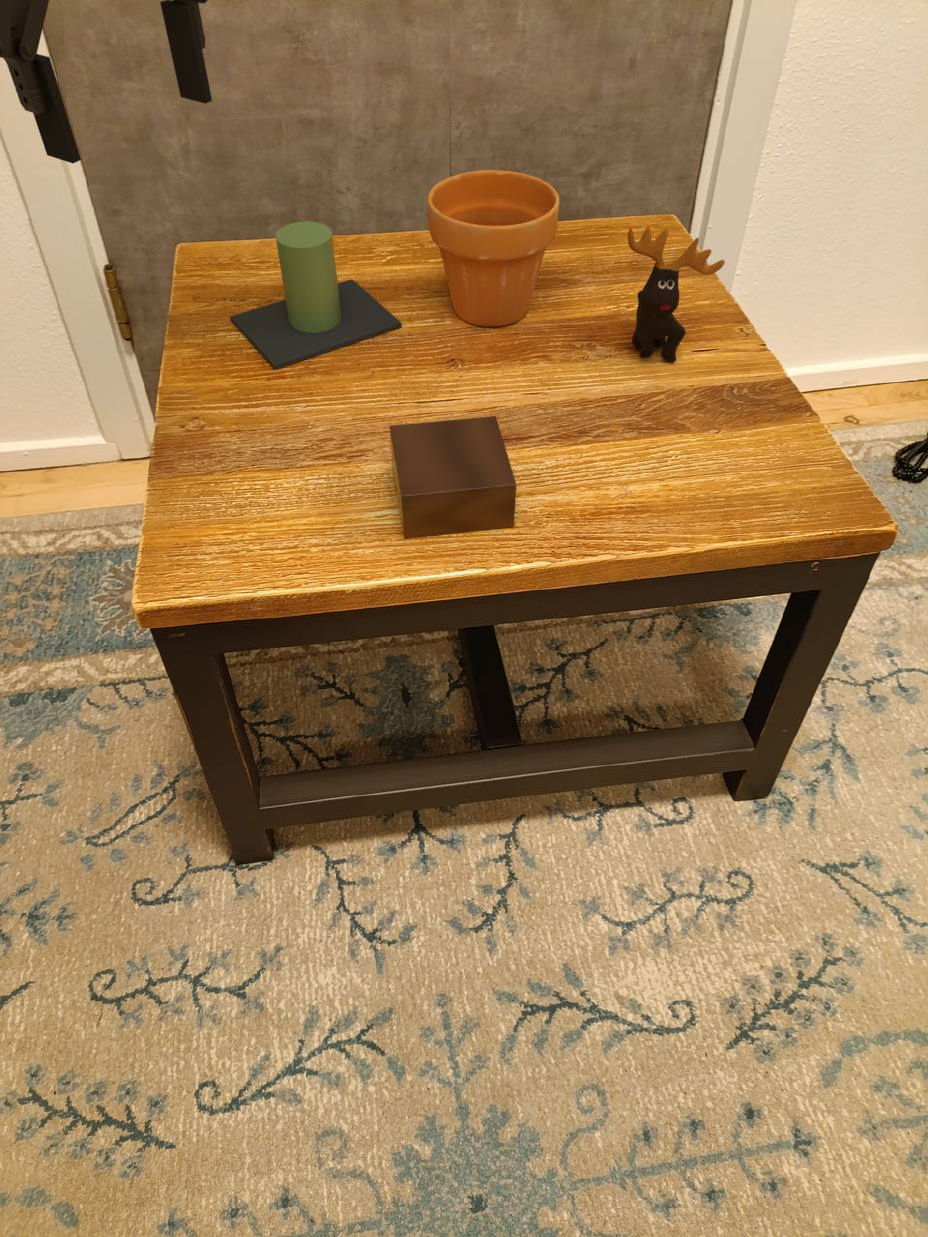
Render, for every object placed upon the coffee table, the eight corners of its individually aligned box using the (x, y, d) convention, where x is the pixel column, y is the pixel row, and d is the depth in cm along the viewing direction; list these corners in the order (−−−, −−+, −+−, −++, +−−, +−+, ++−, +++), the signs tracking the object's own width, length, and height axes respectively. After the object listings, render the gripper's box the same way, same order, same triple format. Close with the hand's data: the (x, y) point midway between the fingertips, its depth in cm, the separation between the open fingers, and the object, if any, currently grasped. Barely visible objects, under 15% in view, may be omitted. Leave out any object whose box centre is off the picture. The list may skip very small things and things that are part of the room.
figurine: (612, 371, 97) (631, 236, 86) (604, 336, 102) (622, 203, 90) (709, 371, 97) (741, 236, 86) (697, 335, 102) (726, 202, 90)
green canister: (303, 338, 100) (290, 252, 93) (280, 315, 103) (266, 229, 96) (350, 323, 102) (341, 237, 95) (326, 300, 106) (316, 216, 98)
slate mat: (274, 370, 97) (273, 365, 97) (230, 320, 104) (229, 316, 103) (401, 327, 103) (401, 322, 102) (352, 283, 109) (352, 278, 109)
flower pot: (430, 278, 110) (427, 169, 100) (545, 277, 110) (553, 168, 101) (430, 341, 101) (427, 227, 91) (555, 339, 101) (565, 226, 91)
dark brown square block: (404, 538, 80) (401, 496, 76) (392, 468, 86) (389, 425, 82) (514, 527, 81) (516, 484, 77) (494, 457, 87) (495, 415, 83)
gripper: (143, -283, 60) (210, 69, 76) (-209, -249, 46) (-37, 173, 62) (226, -278, 58) (278, 86, 74) (-119, -240, 44) (36, 199, 60)
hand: (134, 127), depth 68 cm, fingers open, 13 cm apart
